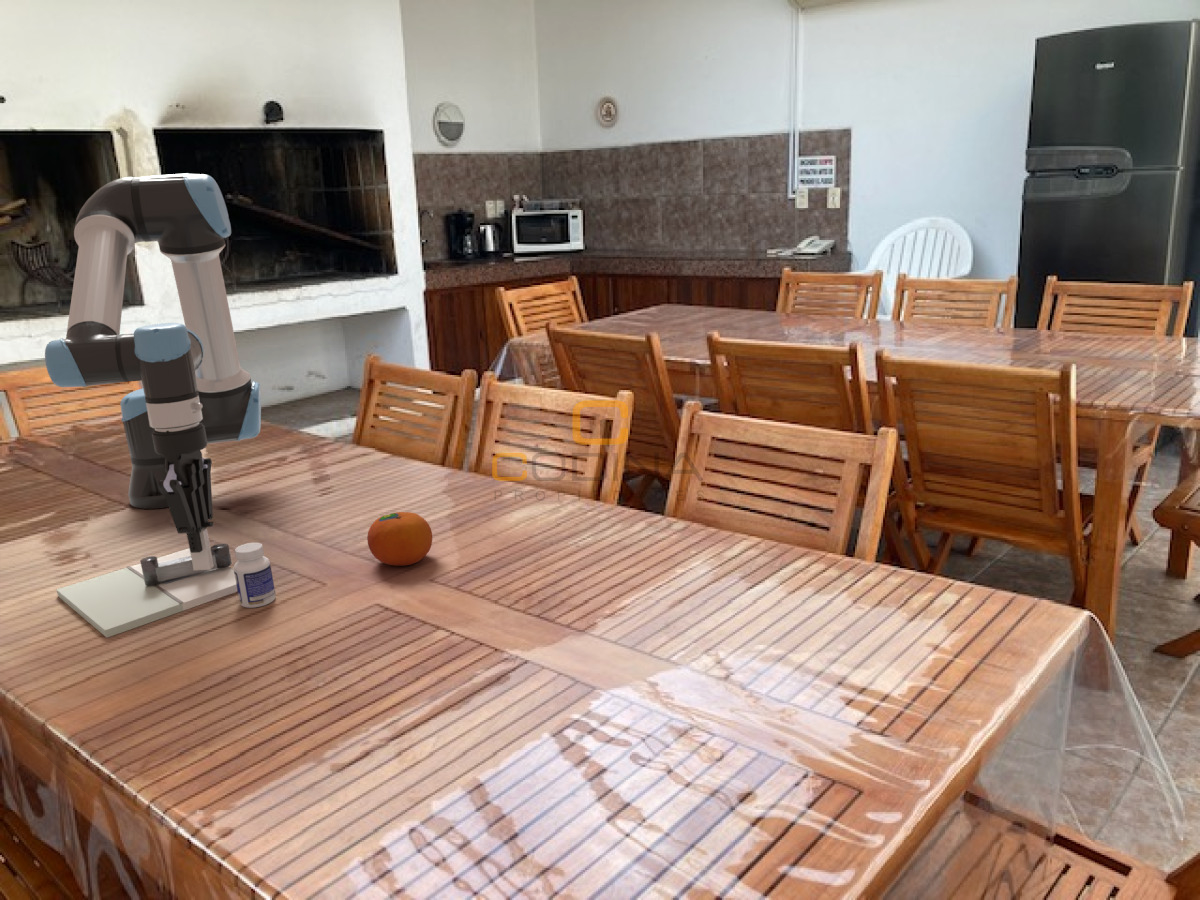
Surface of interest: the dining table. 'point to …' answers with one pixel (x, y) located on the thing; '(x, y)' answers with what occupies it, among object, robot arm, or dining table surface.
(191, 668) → the dining table surface
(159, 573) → the swing bar
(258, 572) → the pill bottle
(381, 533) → the fruit
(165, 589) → the door board
